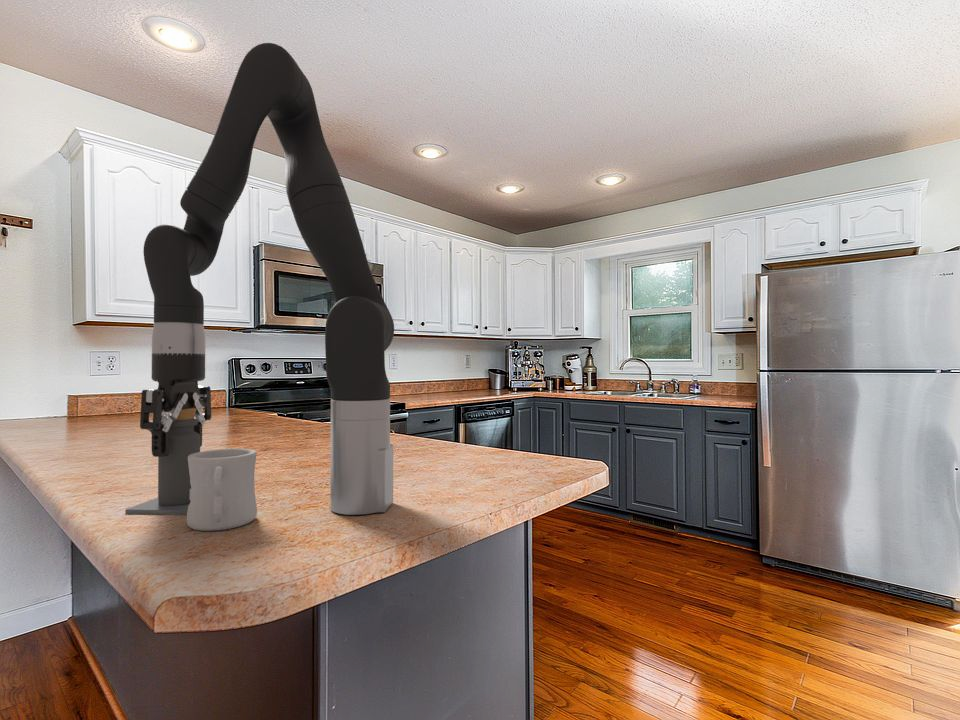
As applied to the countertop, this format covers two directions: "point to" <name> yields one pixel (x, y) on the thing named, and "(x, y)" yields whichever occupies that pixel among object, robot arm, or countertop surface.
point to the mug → (221, 489)
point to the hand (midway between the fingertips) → (178, 451)
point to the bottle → (178, 460)
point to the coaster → (157, 508)
